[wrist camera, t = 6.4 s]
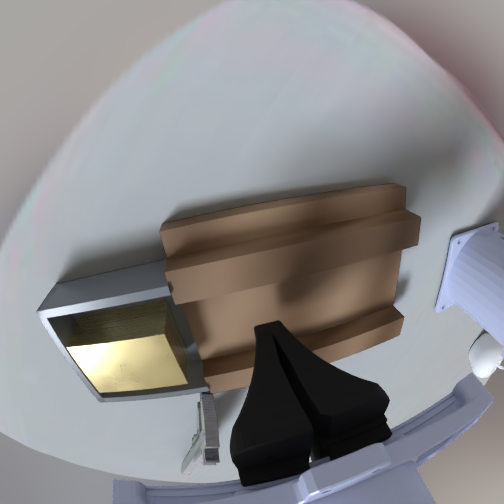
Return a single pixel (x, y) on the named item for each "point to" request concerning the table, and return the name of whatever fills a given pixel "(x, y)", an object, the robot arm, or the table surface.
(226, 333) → the slot board
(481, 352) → the plain white apple
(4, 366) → the table surface
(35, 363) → the table surface
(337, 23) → the table surface
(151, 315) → the block
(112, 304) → the tray
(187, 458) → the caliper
